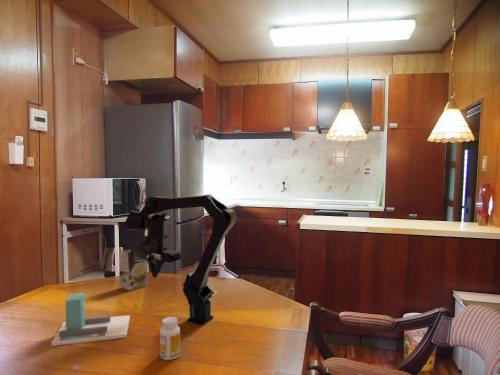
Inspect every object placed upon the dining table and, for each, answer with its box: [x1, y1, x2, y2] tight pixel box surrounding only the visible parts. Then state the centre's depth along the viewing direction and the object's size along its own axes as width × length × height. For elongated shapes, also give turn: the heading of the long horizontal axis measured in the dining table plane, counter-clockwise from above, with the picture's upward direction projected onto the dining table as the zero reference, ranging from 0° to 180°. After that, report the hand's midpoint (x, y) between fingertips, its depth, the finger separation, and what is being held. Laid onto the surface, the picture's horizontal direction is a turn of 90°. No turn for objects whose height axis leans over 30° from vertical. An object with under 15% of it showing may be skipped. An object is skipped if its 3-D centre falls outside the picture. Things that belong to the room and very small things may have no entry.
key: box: [211, 290, 218, 298], centre depth 141 cm, size 7×12×2 cm, turn 32°
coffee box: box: [121, 248, 149, 291], centre depth 148 cm, size 9×6×16 cm
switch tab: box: [65, 292, 86, 330], centre depth 105 cm, size 4×6×10 cm, turn 15°
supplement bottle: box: [159, 316, 181, 361], centre depth 93 cm, size 5×5×10 cm
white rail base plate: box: [51, 315, 131, 347], centre depth 107 cm, size 20×14×2 cm
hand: (154, 277), depth 119 cm, fingers closed
